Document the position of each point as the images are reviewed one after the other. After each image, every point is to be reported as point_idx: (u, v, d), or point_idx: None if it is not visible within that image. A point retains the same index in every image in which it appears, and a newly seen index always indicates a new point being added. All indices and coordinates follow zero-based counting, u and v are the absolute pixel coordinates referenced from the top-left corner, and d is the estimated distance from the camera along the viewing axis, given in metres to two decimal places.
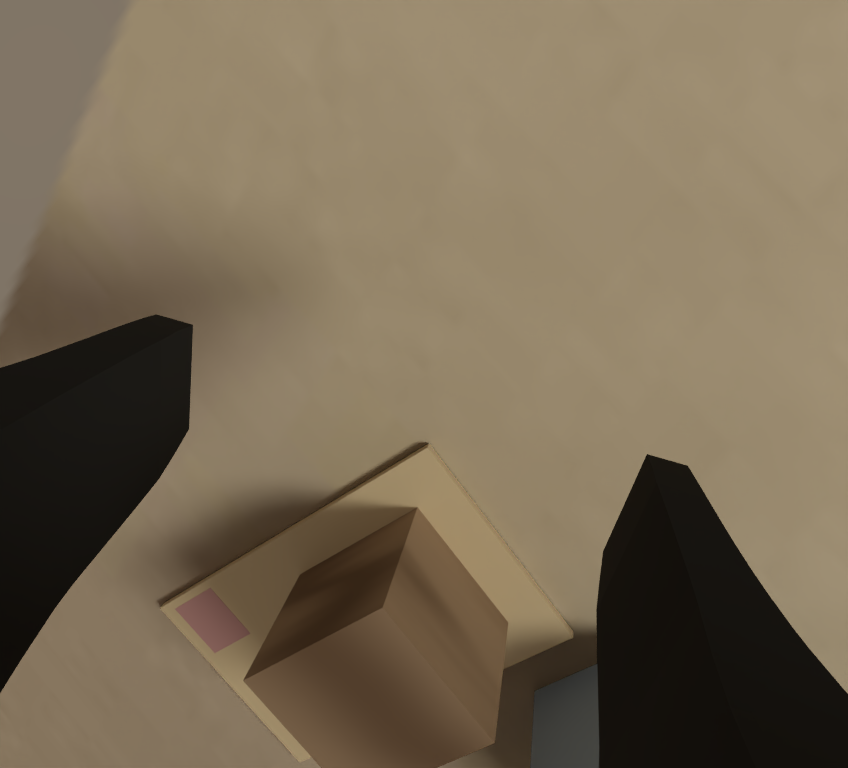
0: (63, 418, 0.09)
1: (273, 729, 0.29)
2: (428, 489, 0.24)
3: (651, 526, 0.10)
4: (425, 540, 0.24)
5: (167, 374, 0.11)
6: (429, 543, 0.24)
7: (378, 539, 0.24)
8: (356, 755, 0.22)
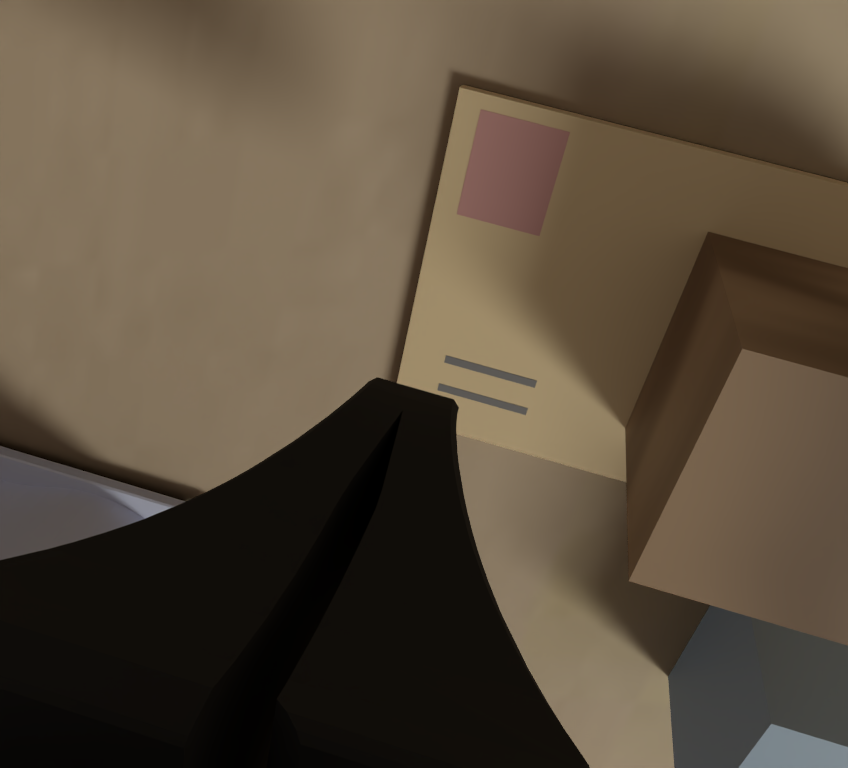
0: (347, 502, 0.09)
1: (408, 358, 0.19)
2: None
3: None
4: None
5: None
6: None
7: None
8: (726, 546, 0.13)
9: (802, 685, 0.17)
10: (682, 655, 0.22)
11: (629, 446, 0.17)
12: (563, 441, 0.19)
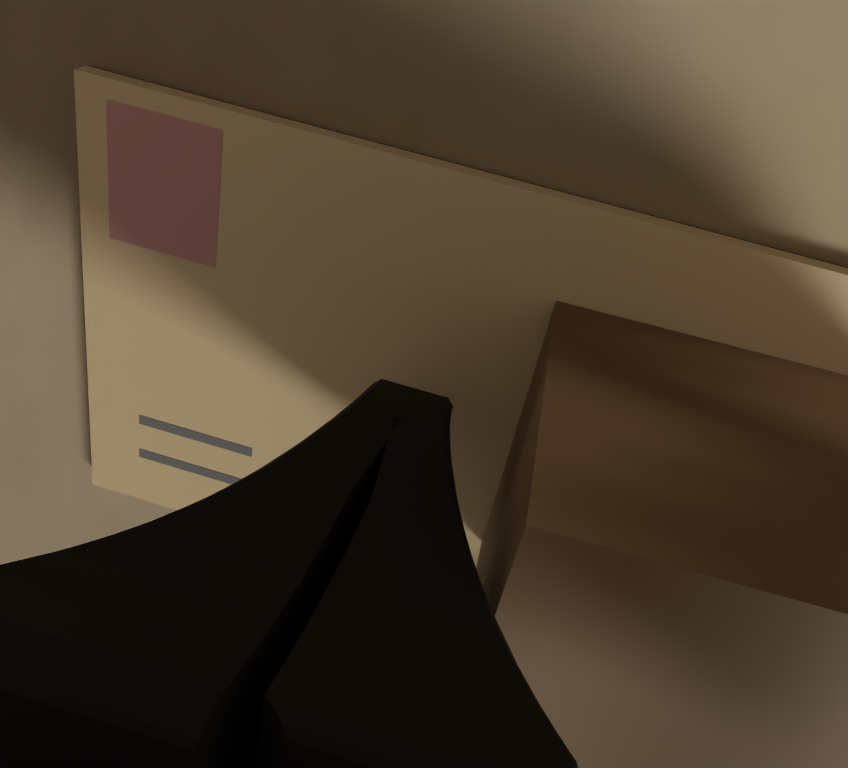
0: (353, 504, 0.09)
1: (96, 417, 0.15)
2: (807, 348, 0.11)
3: None
4: None
5: None
6: None
7: (815, 391, 0.11)
8: None
9: None
10: None
11: None
12: None
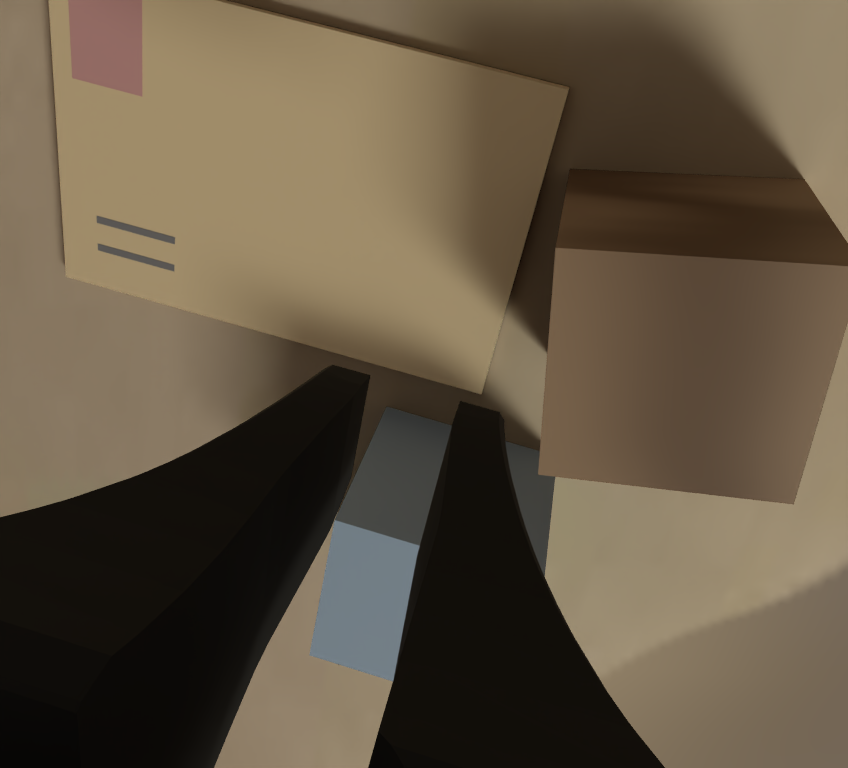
0: (289, 485, 0.09)
1: (67, 220, 0.21)
2: (516, 134, 0.17)
3: (443, 465, 0.10)
4: None
5: (350, 427, 0.11)
6: None
7: (742, 185, 0.17)
8: (605, 426, 0.15)
9: (384, 496, 0.19)
10: None
11: None
12: (210, 296, 0.21)
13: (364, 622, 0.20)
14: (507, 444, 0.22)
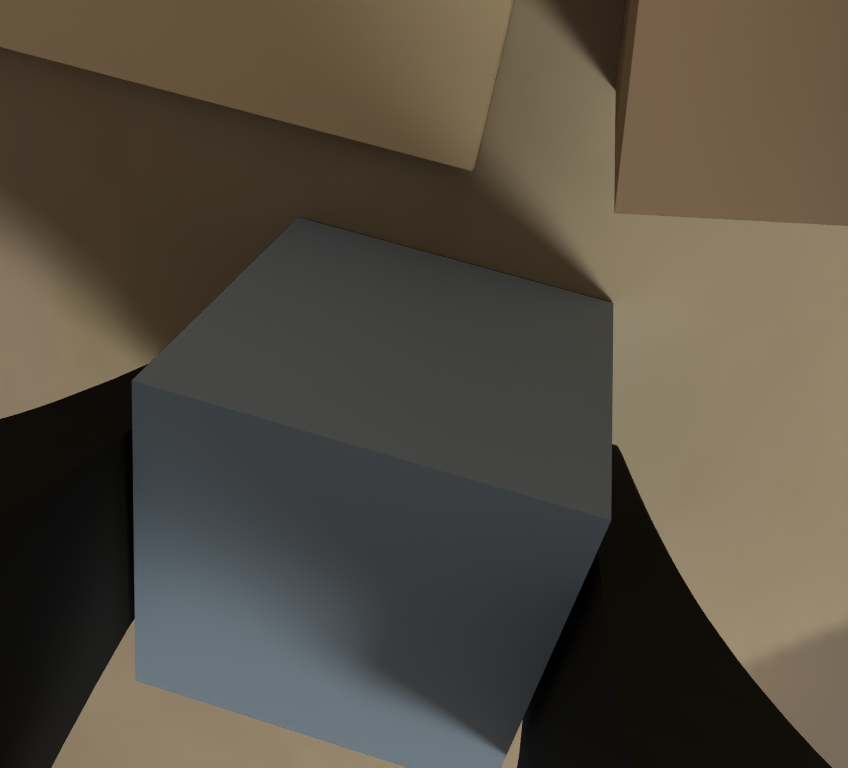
0: None
1: None
2: None
3: None
4: None
5: None
6: None
7: None
8: (825, 24, 0.05)
9: (260, 346, 0.09)
10: None
11: (618, 86, 0.09)
12: None
13: (228, 616, 0.10)
14: (519, 283, 0.12)
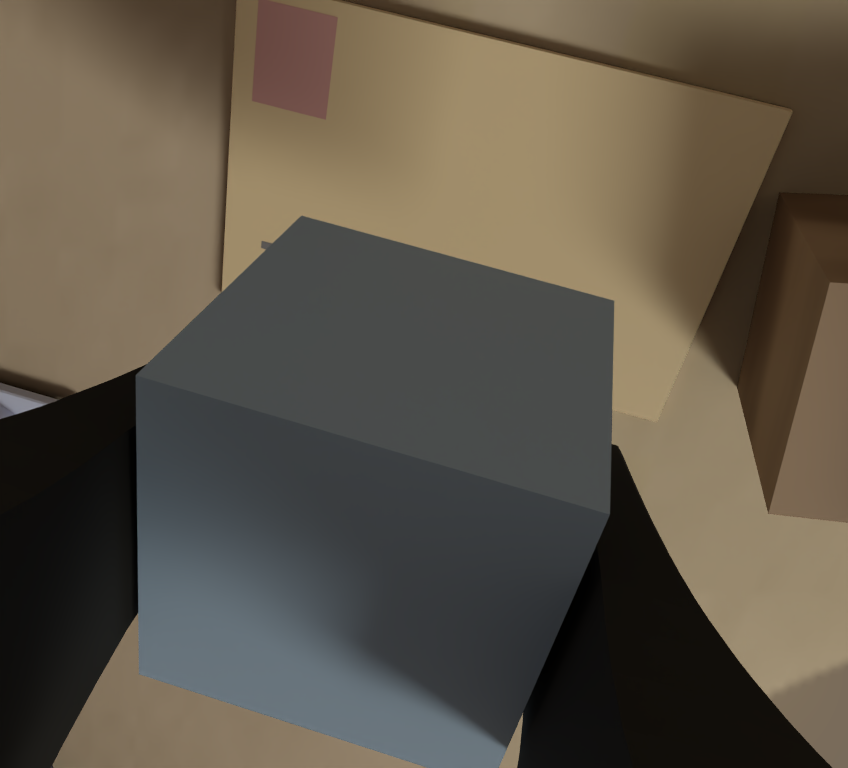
0: None
1: (229, 245, 0.20)
2: (729, 157, 0.17)
3: None
4: None
5: None
6: None
7: None
8: None
9: (262, 341, 0.09)
10: None
11: (744, 399, 0.19)
12: None
13: (230, 610, 0.10)
14: (521, 280, 0.12)
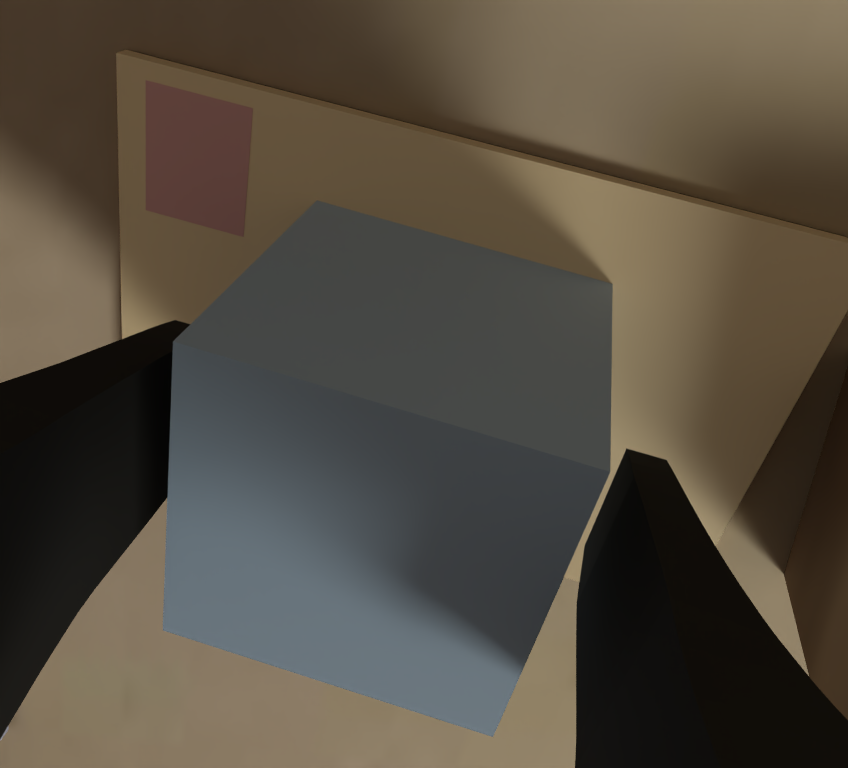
0: (87, 425, 0.09)
1: None
2: (788, 306, 0.12)
3: (628, 519, 0.10)
4: None
5: None
6: None
7: None
8: None
9: (288, 314, 0.10)
10: None
11: (796, 603, 0.14)
12: None
13: (253, 566, 0.10)
14: (525, 264, 0.12)
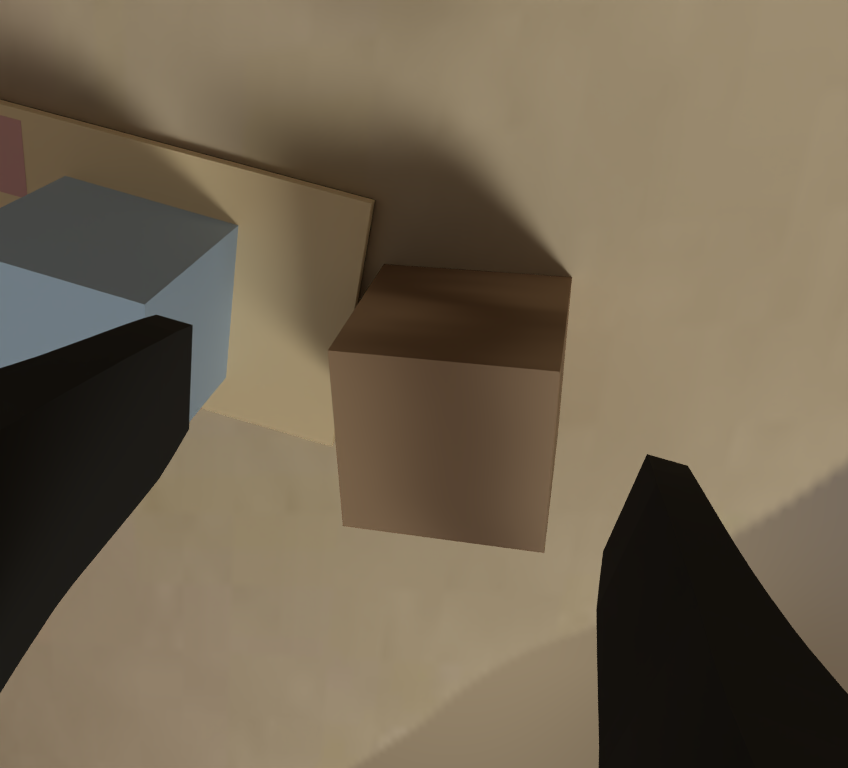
0: (63, 418, 0.09)
1: None
2: (334, 237, 0.21)
3: (651, 526, 0.10)
4: None
5: (167, 374, 0.11)
6: (567, 321, 0.20)
7: (516, 283, 0.20)
8: (389, 488, 0.19)
9: (6, 232, 0.18)
10: None
11: None
12: None
13: None
14: (184, 213, 0.21)
